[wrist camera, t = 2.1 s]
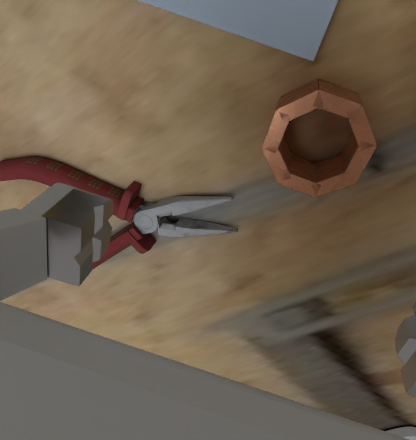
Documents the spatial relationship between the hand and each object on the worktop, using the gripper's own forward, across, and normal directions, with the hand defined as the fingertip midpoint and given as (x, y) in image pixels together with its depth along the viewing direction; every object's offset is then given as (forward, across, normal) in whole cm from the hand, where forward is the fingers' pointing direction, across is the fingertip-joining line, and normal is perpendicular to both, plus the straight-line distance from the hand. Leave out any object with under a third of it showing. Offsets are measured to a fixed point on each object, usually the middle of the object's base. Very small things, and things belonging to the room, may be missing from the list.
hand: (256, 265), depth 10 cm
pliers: (+18, -11, -14) cm, 26 cm away
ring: (+18, +2, -1) cm, 18 cm away
